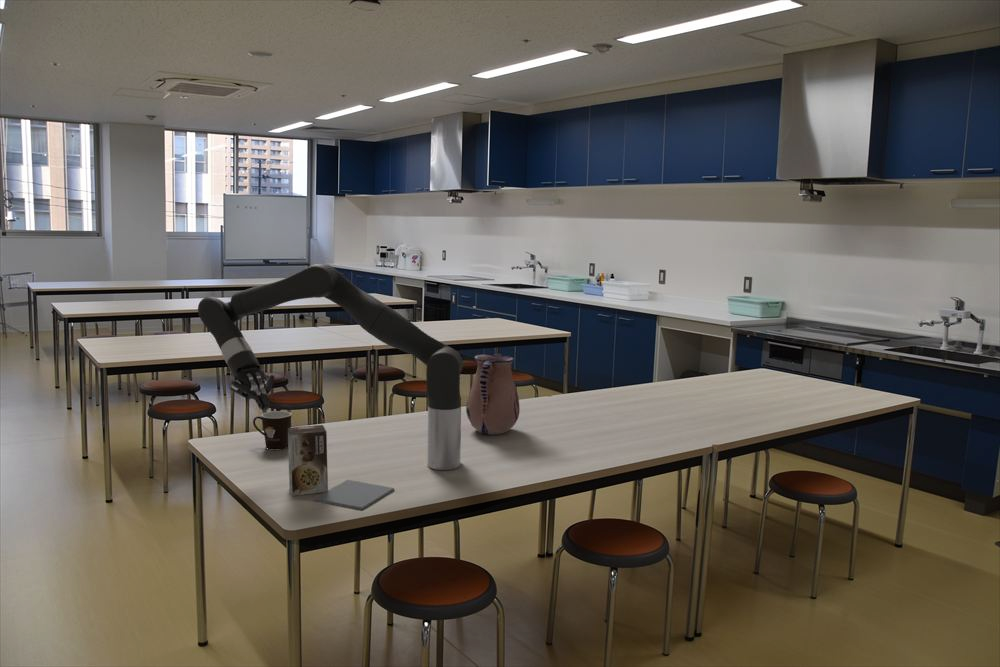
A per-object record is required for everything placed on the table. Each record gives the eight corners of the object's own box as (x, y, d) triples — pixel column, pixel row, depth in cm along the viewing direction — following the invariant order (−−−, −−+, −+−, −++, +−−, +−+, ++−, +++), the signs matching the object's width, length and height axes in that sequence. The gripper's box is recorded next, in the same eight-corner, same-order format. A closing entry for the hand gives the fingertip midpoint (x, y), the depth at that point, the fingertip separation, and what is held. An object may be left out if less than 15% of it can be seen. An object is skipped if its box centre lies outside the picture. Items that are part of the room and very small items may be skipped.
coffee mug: (297, 447, 234) (297, 414, 233) (272, 453, 228) (271, 419, 226) (276, 439, 242) (275, 407, 240) (251, 444, 236) (250, 412, 234)
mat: (347, 482, 205) (347, 479, 205) (394, 490, 200) (394, 487, 200) (313, 500, 191) (313, 498, 191) (362, 509, 186) (362, 507, 186)
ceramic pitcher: (520, 425, 264) (522, 352, 260) (515, 443, 243) (517, 364, 239) (469, 423, 266) (470, 350, 262) (460, 440, 245) (461, 362, 241)
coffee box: (324, 484, 203) (323, 424, 200) (328, 492, 197) (327, 430, 194) (288, 488, 200) (287, 426, 197) (291, 496, 194) (290, 433, 191)
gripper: (222, 352, 206) (249, 404, 200) (266, 346, 216) (293, 396, 210) (212, 369, 211) (239, 421, 205) (256, 362, 221) (282, 412, 214)
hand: (266, 408), depth 207 cm, fingers closed
